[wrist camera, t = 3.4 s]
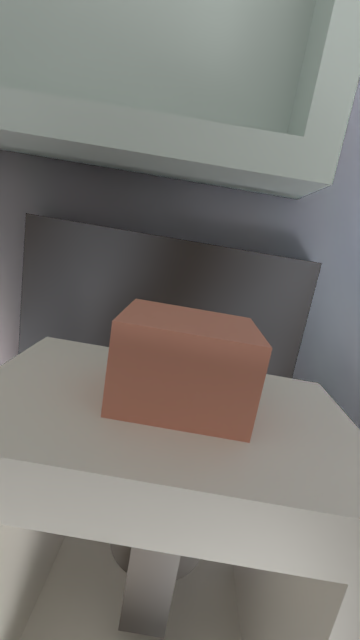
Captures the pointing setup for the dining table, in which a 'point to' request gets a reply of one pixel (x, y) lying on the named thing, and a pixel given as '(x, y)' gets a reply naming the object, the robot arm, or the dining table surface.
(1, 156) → the dining table surface
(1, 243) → the dining table surface
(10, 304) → the dining table surface
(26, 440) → the collar
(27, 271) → the stand
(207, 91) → the tray
